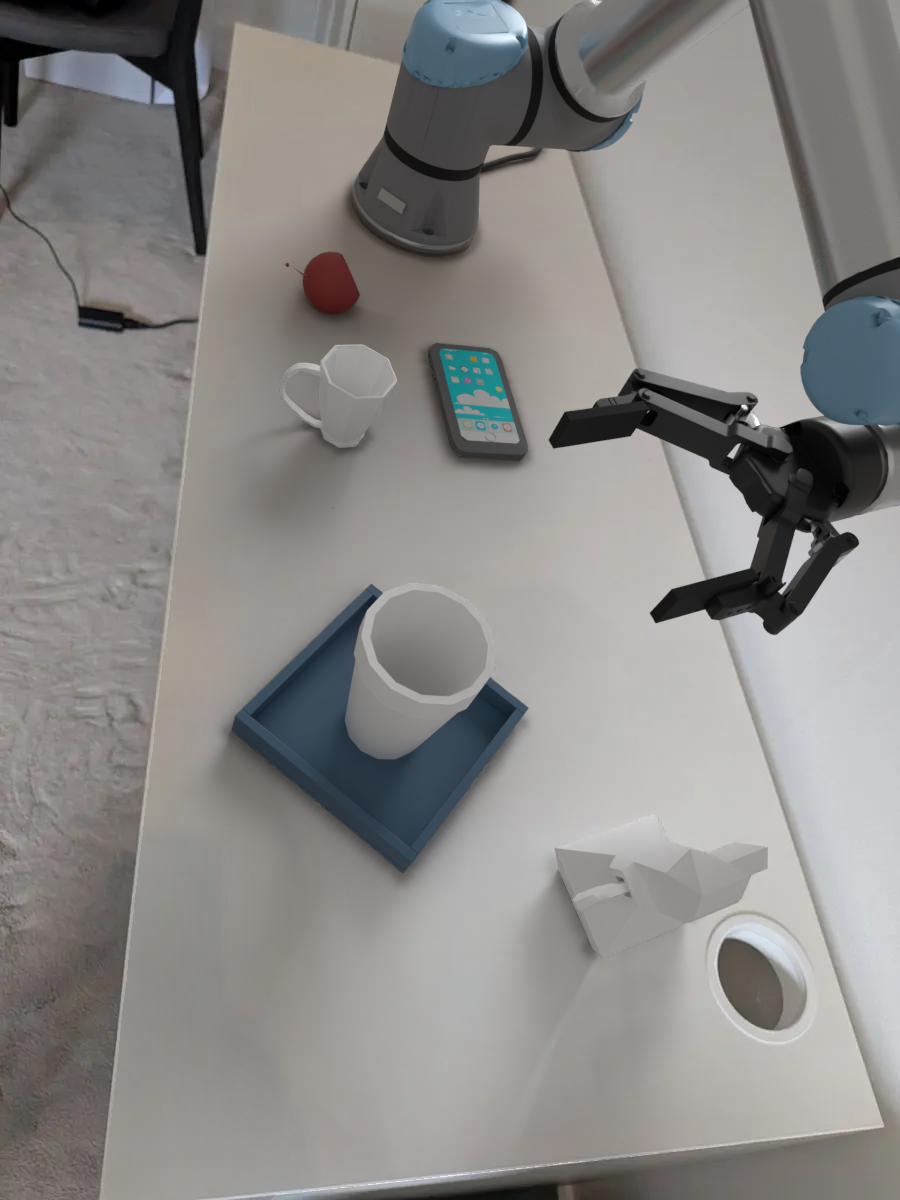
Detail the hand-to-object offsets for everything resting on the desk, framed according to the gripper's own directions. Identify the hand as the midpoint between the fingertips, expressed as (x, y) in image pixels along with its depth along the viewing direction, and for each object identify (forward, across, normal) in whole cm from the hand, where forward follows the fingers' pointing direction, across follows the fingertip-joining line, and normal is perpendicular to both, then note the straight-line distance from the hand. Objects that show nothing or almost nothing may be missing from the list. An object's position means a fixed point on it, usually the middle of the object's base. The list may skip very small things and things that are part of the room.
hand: (608, 514), depth 56 cm
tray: (+9, 0, -26) cm, 27 cm away
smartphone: (-15, +31, -26) cm, 43 cm away
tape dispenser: (-3, -19, -26) cm, 32 cm away
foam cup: (+9, 0, -25) cm, 27 cm away
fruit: (-3, +47, -26) cm, 54 cm away
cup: (+2, +30, -26) cm, 40 cm away
